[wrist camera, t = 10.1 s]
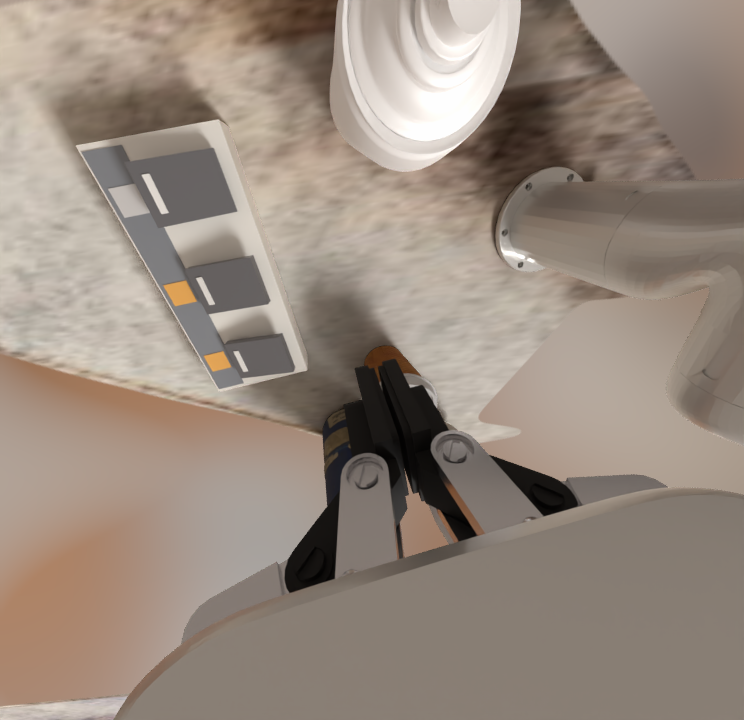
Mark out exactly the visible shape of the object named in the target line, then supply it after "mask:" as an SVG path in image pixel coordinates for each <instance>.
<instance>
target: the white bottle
mask: <svg viewBox="0 0 744 720" xmlns="http://www.w3.org/2000/svg"><path fill="white" fill-rule="evenodd" d="M520 14H521V0H338V5H337V11H336V26H335V42H334V57H333V67H332V72H331V79H330V108H331V114H332V117H333V120H334V123H335V125H336V127H337V130H338V131H339V133H340V134H341V136H342V137H343V138H344V139H345V140H346V141H347V143H348V144H350V145H351V146H352V147H354V148H355V149H356V150H358V151H359V152H361V153H362V154H364V155H365V156H367V157H368V158H370V159H371V160H373V161H374V162H376V163H377V164H379V165H380V166H383V167H385V168H388V169H390V170H395V171H415V170H419V169H423V168H425V167H427V166H430V165H432V164H433V163H435V162H436V161H438V160H440V159H441V158H442V157H444V156H445V155H446V154H448V153H449V152H450V151H452V150H453V149H454V148H456V147H457V146H458V145H459V144H461V143H462V142H463V141H464V140H465V139H466V138H467V137H468V136H469V135H470V134H471V133H473V132H474V131H475V130H476V129H477V127H478V126H479V125H480V124H481V123H482V122H483V120H484V119H485V118H486V116H487V115H488V113H489V112H490V110H491V109H492V107H493V106H494V104H495V102H496V100H497V98H498V97H499V95H500V93H501V91H502V89H503V86H504V84H505V81H506V79H507V76H508V74H509V71H510V68H511V64H512V61H513V57H514V54H515V49H516V44H517V39H518V34H519V25H520Z"/></svg>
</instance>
